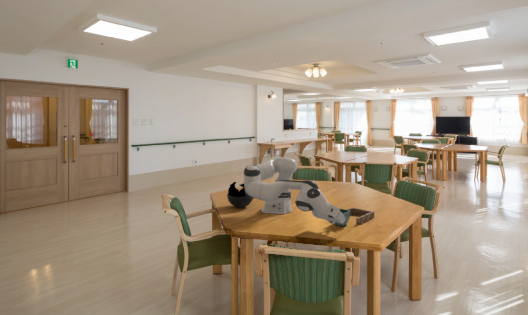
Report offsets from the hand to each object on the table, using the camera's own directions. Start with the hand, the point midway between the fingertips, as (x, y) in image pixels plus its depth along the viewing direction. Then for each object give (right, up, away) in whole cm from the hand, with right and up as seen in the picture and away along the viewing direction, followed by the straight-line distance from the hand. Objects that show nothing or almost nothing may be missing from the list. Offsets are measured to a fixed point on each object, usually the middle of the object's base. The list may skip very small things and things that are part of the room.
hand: (332, 222), depth 194 cm
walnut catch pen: (+19, -2, +21) cm, 28 cm away
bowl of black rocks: (-59, +1, +52) cm, 78 cm away
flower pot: (+7, -3, +9) cm, 12 cm away
